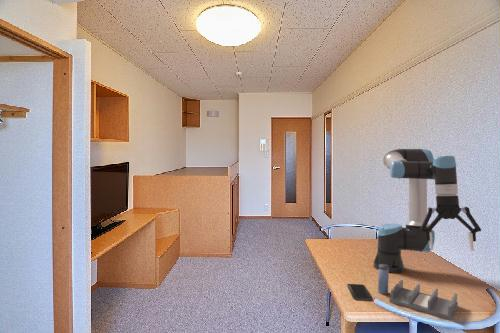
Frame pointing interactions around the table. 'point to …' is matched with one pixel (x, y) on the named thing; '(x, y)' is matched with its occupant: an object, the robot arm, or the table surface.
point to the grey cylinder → (383, 279)
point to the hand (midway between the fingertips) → (451, 249)
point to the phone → (359, 292)
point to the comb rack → (424, 301)
